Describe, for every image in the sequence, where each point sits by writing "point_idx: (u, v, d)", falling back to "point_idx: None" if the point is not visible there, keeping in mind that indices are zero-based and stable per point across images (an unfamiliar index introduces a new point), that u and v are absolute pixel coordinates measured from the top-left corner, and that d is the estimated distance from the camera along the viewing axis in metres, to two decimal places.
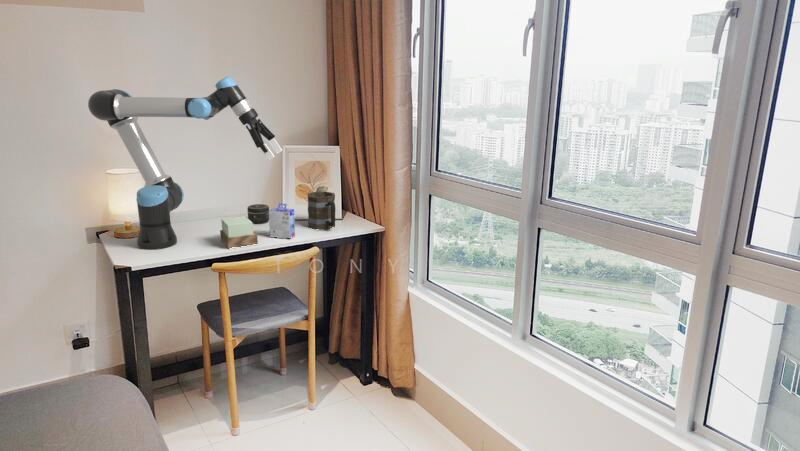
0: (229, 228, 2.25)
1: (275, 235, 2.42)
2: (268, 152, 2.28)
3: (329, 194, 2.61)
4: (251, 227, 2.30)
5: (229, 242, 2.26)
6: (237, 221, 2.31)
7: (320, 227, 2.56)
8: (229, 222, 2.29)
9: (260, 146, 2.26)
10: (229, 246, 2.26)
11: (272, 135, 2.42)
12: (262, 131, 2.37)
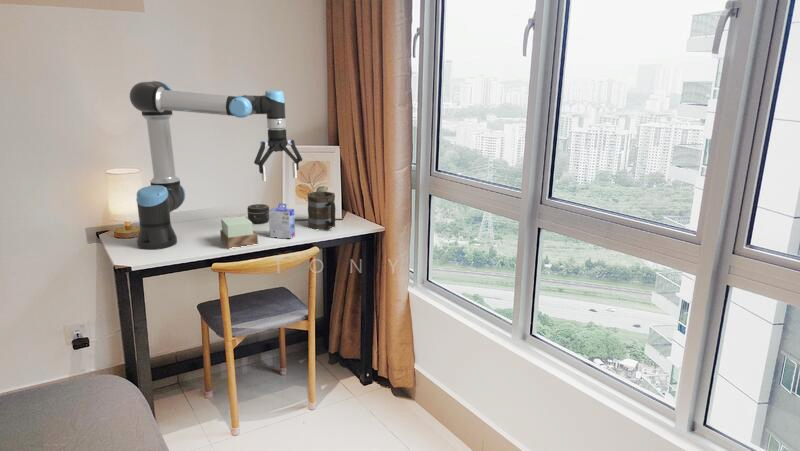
0: (229, 228, 2.25)
1: (275, 235, 2.42)
2: (263, 174, 2.32)
3: (329, 194, 2.61)
4: (251, 227, 2.29)
5: (229, 242, 2.26)
6: (237, 221, 2.31)
7: (320, 227, 2.56)
8: (229, 222, 2.29)
9: None
10: (229, 246, 2.26)
11: (299, 160, 2.39)
12: (286, 152, 2.36)
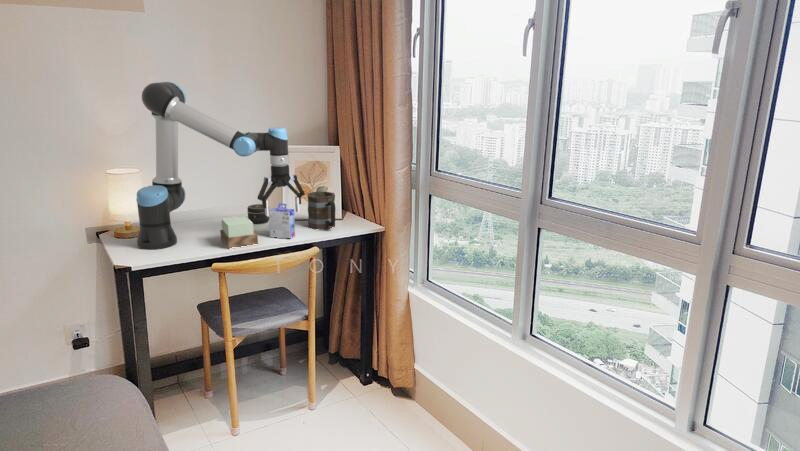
0: (229, 228, 2.25)
1: (275, 235, 2.42)
2: (266, 209, 2.37)
3: (329, 194, 2.61)
4: (251, 227, 2.29)
5: (229, 242, 2.26)
6: (237, 221, 2.31)
7: (320, 227, 2.56)
8: (229, 222, 2.29)
9: (262, 200, 2.36)
10: (229, 246, 2.26)
11: (302, 194, 2.43)
12: (289, 187, 2.40)
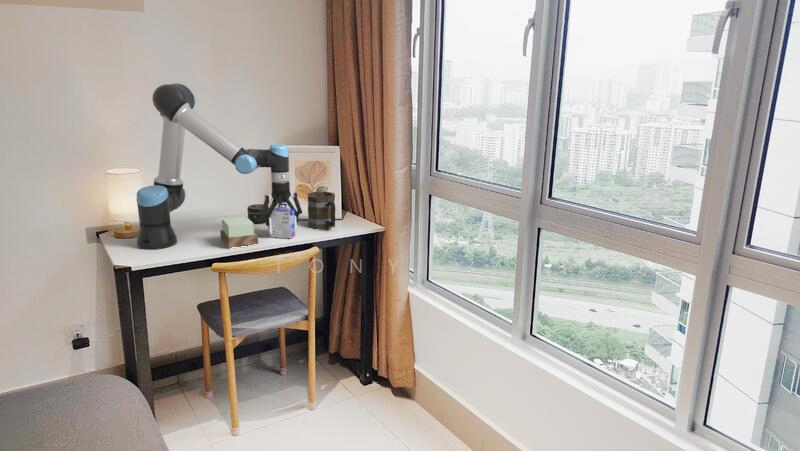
0: (229, 228, 2.25)
1: (275, 235, 2.42)
2: (269, 227, 2.39)
3: (329, 194, 2.61)
4: (251, 227, 2.29)
5: (230, 242, 2.26)
6: (238, 221, 2.31)
7: (320, 227, 2.56)
8: (230, 222, 2.29)
9: (265, 218, 2.38)
10: (230, 246, 2.26)
11: (299, 212, 2.44)
12: (288, 204, 2.41)
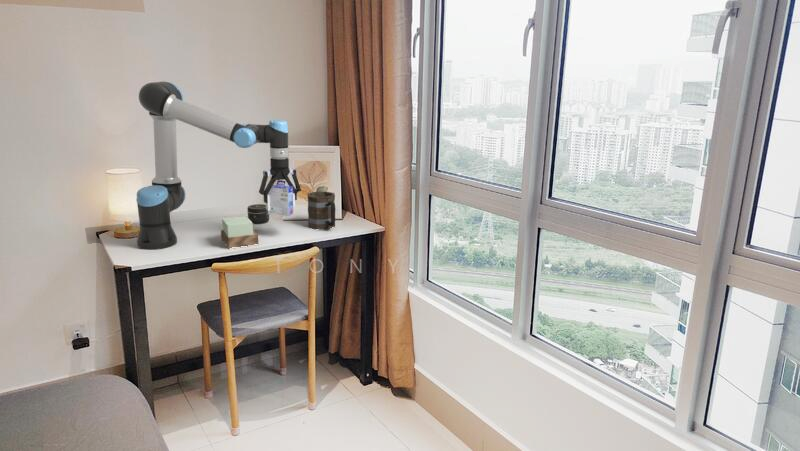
0: (229, 228, 2.25)
1: (273, 212, 2.39)
2: (267, 203, 2.37)
3: (329, 194, 2.61)
4: (251, 227, 2.29)
5: (230, 242, 2.26)
6: (237, 221, 2.31)
7: (320, 227, 2.56)
8: (229, 222, 2.30)
9: None
10: (230, 246, 2.26)
11: (298, 190, 2.42)
12: (286, 181, 2.39)
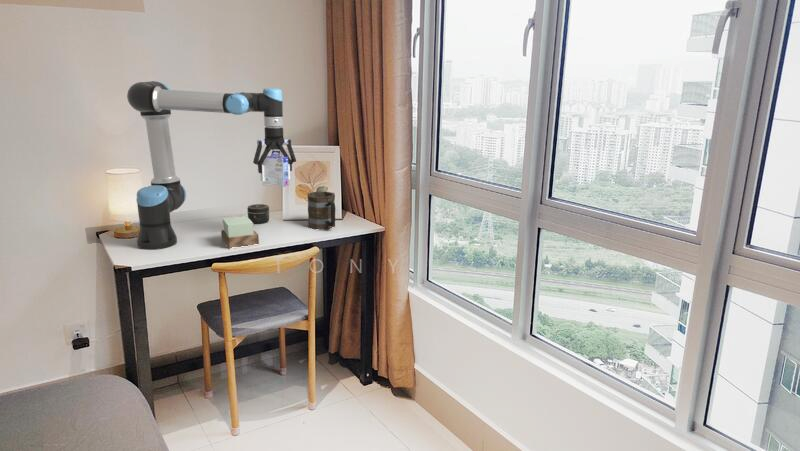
0: (229, 228, 2.25)
1: (268, 183, 2.34)
2: (261, 174, 2.32)
3: (329, 194, 2.61)
4: (251, 227, 2.29)
5: (230, 242, 2.26)
6: (238, 221, 2.31)
7: (320, 227, 2.56)
8: (230, 222, 2.30)
9: None
10: (230, 246, 2.26)
11: (293, 160, 2.37)
12: (281, 151, 2.34)
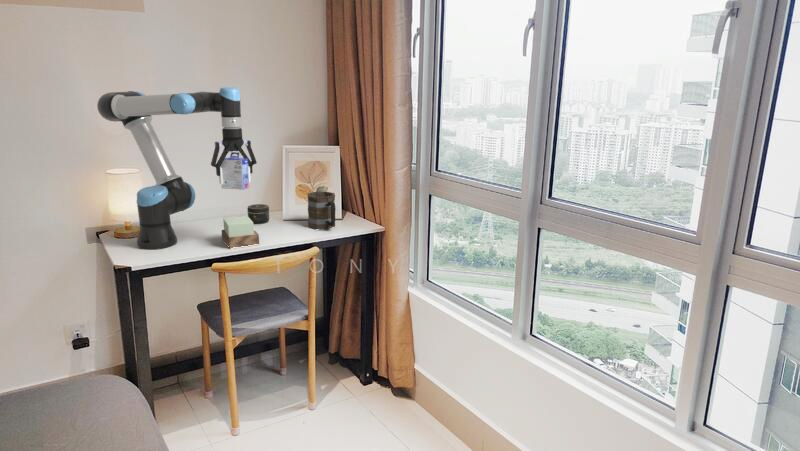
0: (229, 228, 2.25)
1: (227, 186, 2.26)
2: (220, 177, 2.24)
3: (329, 194, 2.61)
4: (252, 227, 2.29)
5: (231, 242, 2.26)
6: (238, 221, 2.31)
7: (320, 227, 2.56)
8: (230, 222, 2.30)
9: None
10: (231, 246, 2.26)
11: (253, 162, 2.29)
12: None
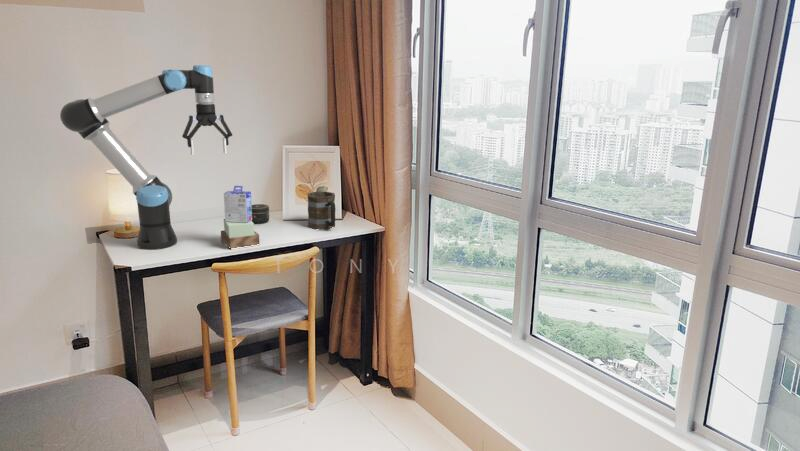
0: (230, 228, 2.25)
1: (231, 219, 2.29)
2: (191, 148, 2.36)
3: (329, 194, 2.61)
4: (252, 228, 2.29)
5: (231, 242, 2.25)
6: None
7: (320, 227, 2.56)
8: (230, 222, 2.29)
9: (187, 139, 2.35)
10: (231, 246, 2.26)
11: (229, 135, 2.42)
12: (215, 127, 2.39)
